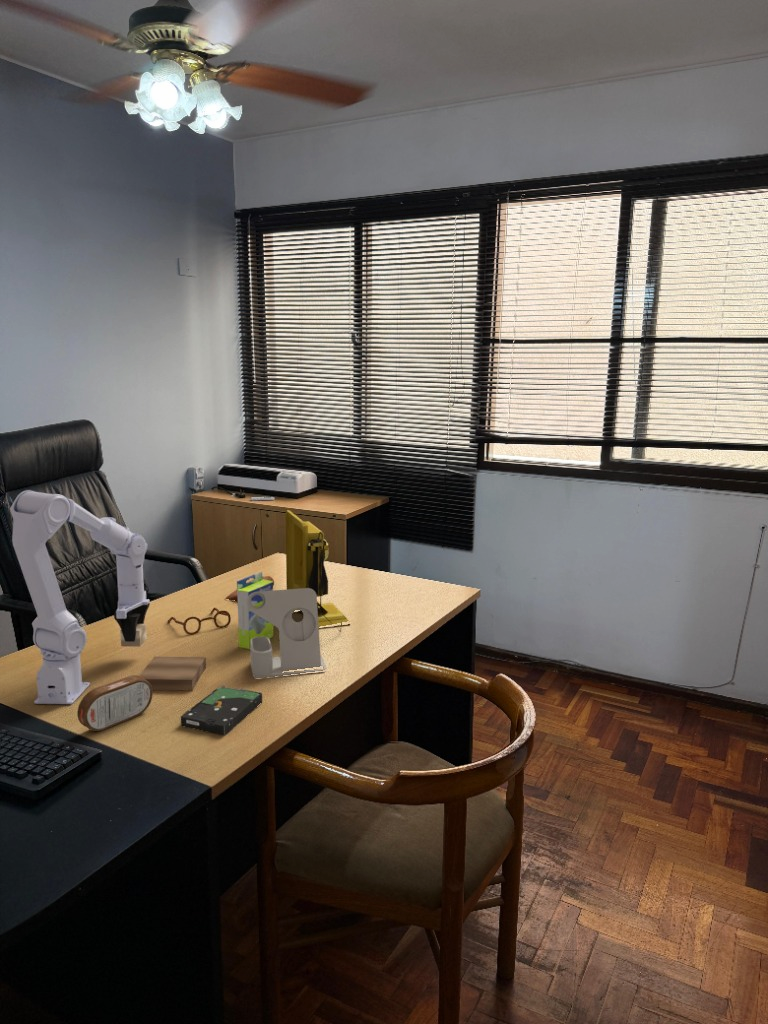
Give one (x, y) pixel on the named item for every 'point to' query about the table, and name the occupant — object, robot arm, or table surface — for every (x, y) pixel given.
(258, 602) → the box
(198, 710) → the disk drive
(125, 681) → the tin
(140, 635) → the block
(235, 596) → the sunglasses case
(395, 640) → the table surface
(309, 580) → the yellow computer monitor
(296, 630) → the phone holder
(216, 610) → the glasses
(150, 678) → the plinth
